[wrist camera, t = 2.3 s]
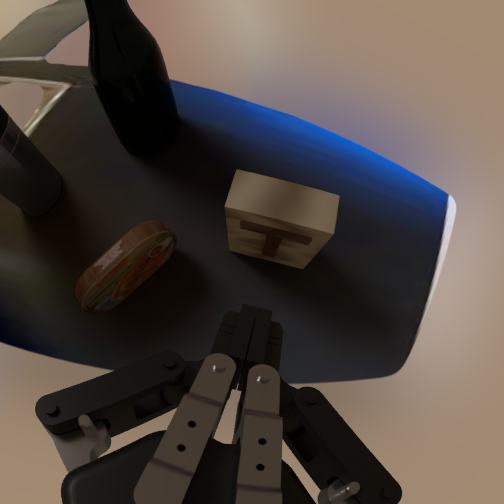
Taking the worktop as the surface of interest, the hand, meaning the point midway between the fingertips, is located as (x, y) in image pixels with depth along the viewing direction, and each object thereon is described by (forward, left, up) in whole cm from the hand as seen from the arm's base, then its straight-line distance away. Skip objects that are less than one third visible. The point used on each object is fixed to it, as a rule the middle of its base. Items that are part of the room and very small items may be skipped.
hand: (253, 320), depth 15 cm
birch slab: (+3, +11, -23) cm, 26 cm away
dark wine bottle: (-17, +30, -23) cm, 42 cm away
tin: (-15, +6, -23) cm, 29 cm away
